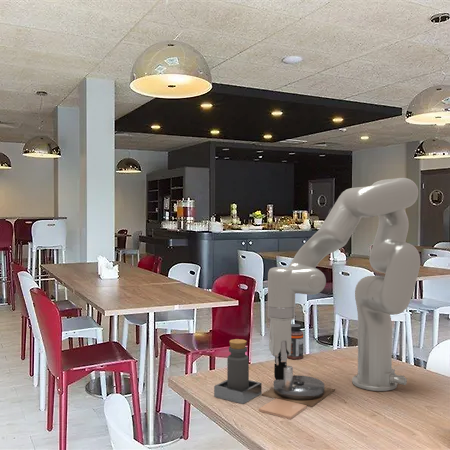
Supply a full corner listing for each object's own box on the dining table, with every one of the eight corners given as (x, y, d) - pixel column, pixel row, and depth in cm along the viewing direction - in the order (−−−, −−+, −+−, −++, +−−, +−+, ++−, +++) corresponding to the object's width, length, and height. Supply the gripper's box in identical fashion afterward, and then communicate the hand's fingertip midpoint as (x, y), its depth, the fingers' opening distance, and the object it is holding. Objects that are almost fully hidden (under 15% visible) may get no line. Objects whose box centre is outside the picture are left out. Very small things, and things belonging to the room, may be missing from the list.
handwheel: (289, 379, 150) (289, 352, 150) (332, 388, 142) (332, 360, 142) (263, 392, 139) (263, 363, 139) (309, 403, 130) (309, 373, 130)
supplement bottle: (282, 356, 176) (282, 324, 176) (294, 354, 180) (294, 322, 179) (294, 360, 171) (294, 327, 171) (306, 357, 175) (307, 325, 175)
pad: (306, 407, 130) (306, 405, 130) (290, 419, 122) (290, 416, 122) (276, 400, 135) (276, 398, 135) (258, 411, 127) (258, 408, 127)
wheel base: (334, 390, 142) (334, 389, 142) (312, 407, 130) (312, 405, 130) (287, 380, 151) (287, 379, 151) (261, 395, 138) (261, 394, 138)
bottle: (246, 399, 135) (246, 344, 135) (225, 398, 136) (225, 343, 136) (250, 392, 141) (250, 338, 141) (229, 390, 142) (229, 337, 142)
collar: (261, 393, 140) (261, 382, 140) (243, 404, 132) (243, 392, 132) (233, 387, 145) (233, 376, 145) (214, 396, 138) (214, 385, 138)
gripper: (264, 307, 146) (263, 370, 146) (271, 317, 131) (270, 388, 131) (290, 307, 146) (289, 370, 147) (299, 317, 131) (299, 388, 132)
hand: (280, 378), depth 139 cm, fingers closed
